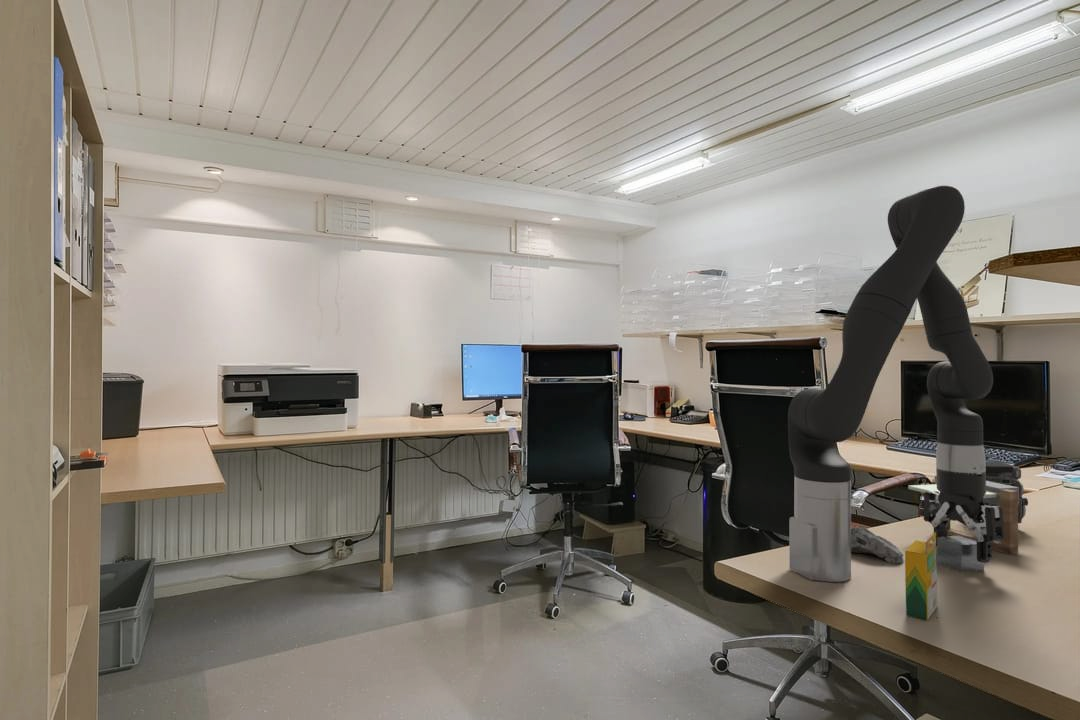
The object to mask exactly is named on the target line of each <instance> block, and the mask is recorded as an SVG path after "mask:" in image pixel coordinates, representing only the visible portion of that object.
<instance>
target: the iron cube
mask: <svg viewBox="0 0 1080 720" xmlns="http://www.w3.org/2000/svg"><path fill="white" fill-rule="evenodd" d="M936 564H939V565H941V564H942V566H944V565H945V566H944V567H947V568H949V567H950V569H953V570H955V571H957V570H958V572H960V573H966V572H967V571H969V572H977V571H976V570H980V571H984V570H985V562H983V563H982V562H979V561H977V541H975V540H971V539H968V538H965V537H962V536H950V535H948V536H946V537H937V546H936ZM967 573H968V572H967Z"/></svg>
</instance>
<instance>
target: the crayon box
mask: <svg viewBox="0 0 1080 720" xmlns="http://www.w3.org/2000/svg"><path fill="white" fill-rule="evenodd" d="M904 568H905V569H904V571H905V572H904V573H905V574H904V576H905V577H904V579H905V580H904V581H905V613H906V616H907V615H908V617H911V616H912V618H916V619H919V620H923V621H929V619H930V618H931V616H932V615H933V614H934V612H935V610H936V608H938V589H937V588H938V587H937V585H938V584H937V581H938V580H937V579H938V577H937V546H936V532H935V533H934V532H933V534H932V535H930V537H929V538H928V539H927V541H921V540H914V541H913V542H912V543H911V544H910V545H909V547H907V548H906V549H905V551H904Z"/></svg>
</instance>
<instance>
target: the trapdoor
mask: <svg viewBox="0 0 1080 720" xmlns="http://www.w3.org/2000/svg"><path fill="white" fill-rule="evenodd" d="M907 489H908V490H912V491H916V492H919V493H923V494H924V493H925V492H930V491H938V489H937V484H935V483H934V484H932V483H931V484H913V485H911V484H910V485H908V486H907ZM1003 489H1009V490H1014V491H1018V505H1019V487H1014V486H1009V485H1004V484H1000V483H995V482H990V481H986V494H985V495H984V497H983V501H984V502H985V503H990V504H994V505H998V506H1000V490H1003ZM938 492H939V493H940V491H938Z"/></svg>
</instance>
